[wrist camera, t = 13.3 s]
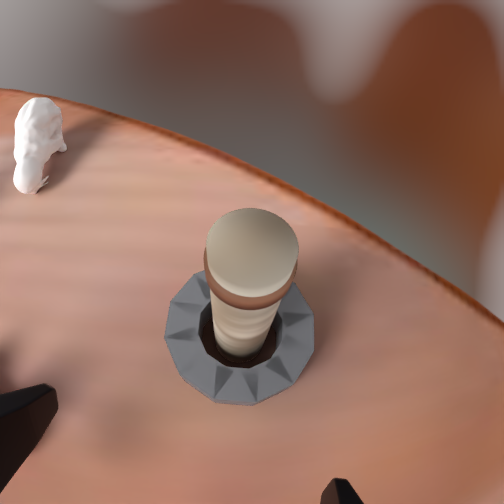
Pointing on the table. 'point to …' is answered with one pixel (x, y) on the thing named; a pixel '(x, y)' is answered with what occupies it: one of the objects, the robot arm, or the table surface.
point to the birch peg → (248, 277)
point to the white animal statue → (36, 142)
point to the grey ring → (230, 378)
